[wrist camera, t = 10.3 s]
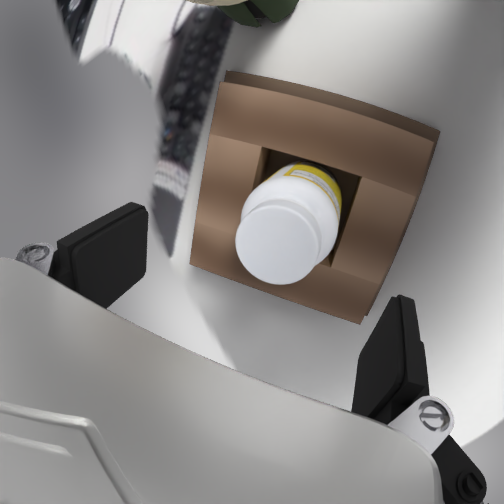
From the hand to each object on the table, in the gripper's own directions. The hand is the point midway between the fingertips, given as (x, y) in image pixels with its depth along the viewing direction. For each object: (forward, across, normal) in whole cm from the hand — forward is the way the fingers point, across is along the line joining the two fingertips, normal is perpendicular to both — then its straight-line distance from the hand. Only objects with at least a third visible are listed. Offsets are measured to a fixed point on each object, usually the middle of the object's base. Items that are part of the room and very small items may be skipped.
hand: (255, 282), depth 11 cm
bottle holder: (+14, 0, +1) cm, 15 cm away
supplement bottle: (+14, 0, +1) cm, 14 cm away
